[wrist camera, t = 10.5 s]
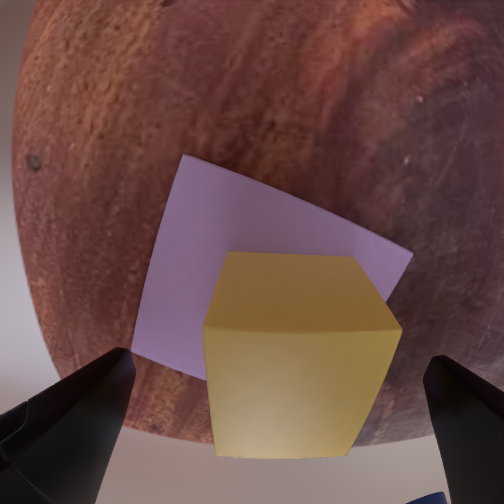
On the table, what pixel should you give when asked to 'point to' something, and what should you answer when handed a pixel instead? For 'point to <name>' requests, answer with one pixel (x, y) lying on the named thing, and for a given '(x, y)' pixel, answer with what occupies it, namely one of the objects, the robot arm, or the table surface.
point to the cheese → (294, 354)
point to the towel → (237, 240)
